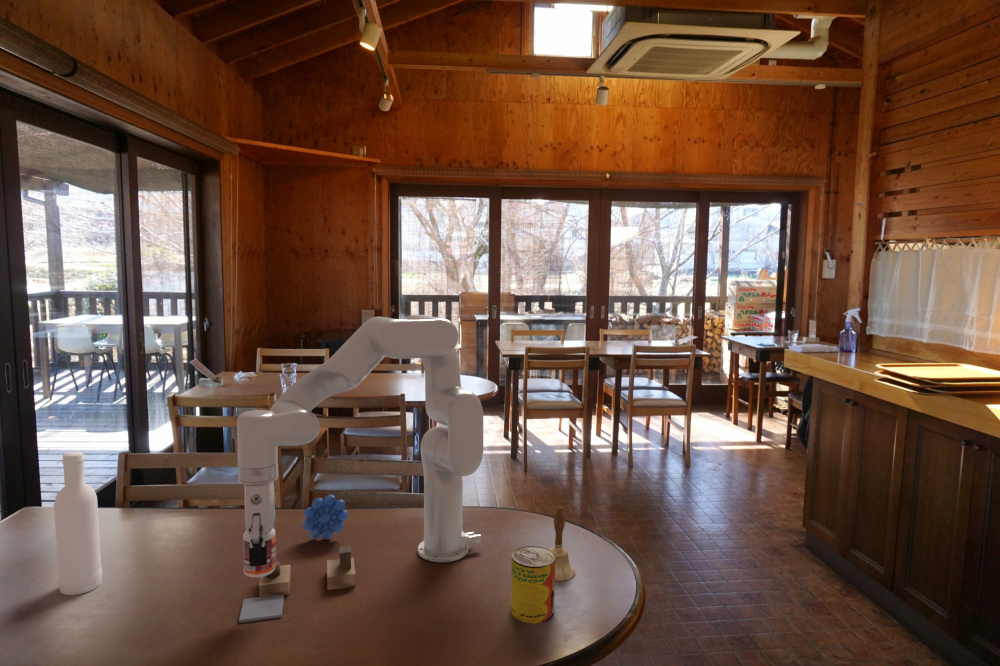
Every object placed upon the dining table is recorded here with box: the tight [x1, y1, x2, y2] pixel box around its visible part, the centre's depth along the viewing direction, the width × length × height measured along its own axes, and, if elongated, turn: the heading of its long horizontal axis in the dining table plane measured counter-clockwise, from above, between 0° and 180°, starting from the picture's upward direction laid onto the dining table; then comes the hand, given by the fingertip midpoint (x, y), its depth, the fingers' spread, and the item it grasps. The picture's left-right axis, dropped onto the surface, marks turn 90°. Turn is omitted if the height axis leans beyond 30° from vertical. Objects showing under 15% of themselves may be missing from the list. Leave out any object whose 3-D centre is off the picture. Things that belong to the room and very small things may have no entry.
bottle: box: [53, 451, 103, 596], centre depth 134 cm, size 8×8×30 cm
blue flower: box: [302, 494, 349, 541], centre depth 161 cm, size 12×7×12 cm, turn 94°
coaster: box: [238, 594, 285, 624], centre depth 128 cm, size 8×8×1 cm
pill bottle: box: [242, 515, 277, 578], centre depth 127 cm, size 6×6×11 cm
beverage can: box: [510, 545, 556, 624], centre depth 128 cm, size 9×9×12 cm
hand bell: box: [548, 506, 576, 582], centre depth 145 cm, size 8×8×16 cm
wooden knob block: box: [258, 545, 356, 597], centre depth 138 cm, size 20×8×7 cm, turn 106°
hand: (260, 556), depth 127 cm, fingers closed on pill bottle, 6 cm apart
